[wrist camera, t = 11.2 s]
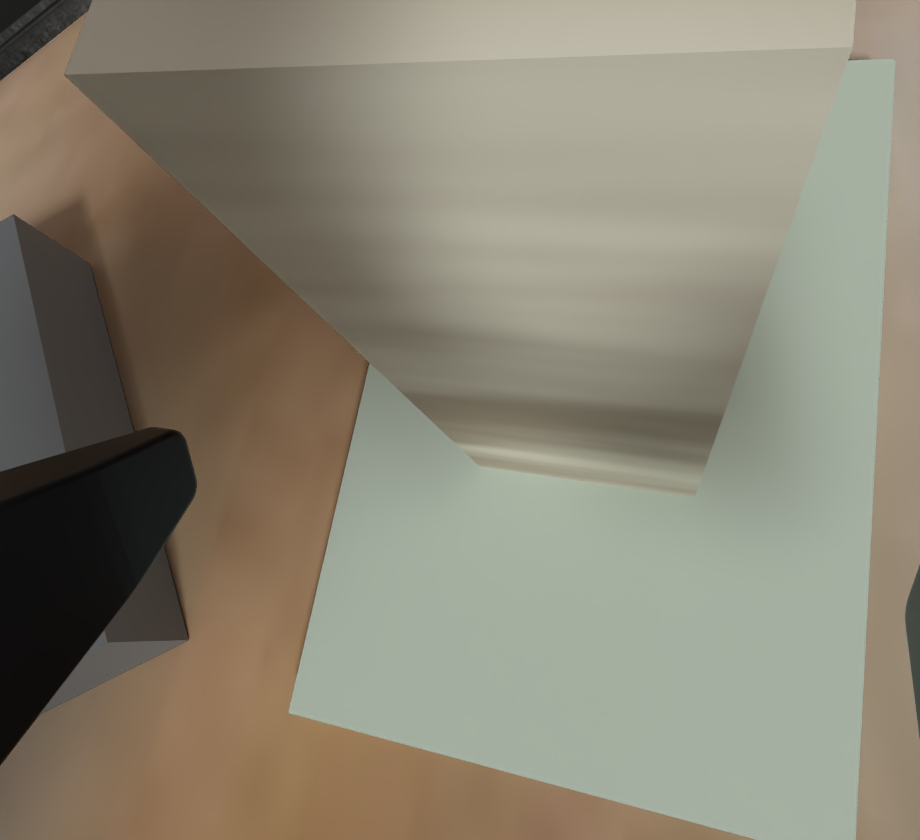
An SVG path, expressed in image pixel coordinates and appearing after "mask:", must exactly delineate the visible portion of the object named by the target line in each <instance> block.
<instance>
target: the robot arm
mask: <svg viewBox="0 0 920 840" xmlns="http://www.w3.org/2000/svg"><path fill="white" fill-rule="evenodd" d="M196 488H197V480H196V476H195V472H194V468H193V465H192V461H191V457H190V454H189V450H188V446H187V442H186V440H185V438H184V436H183V435H182V434H181V433H180V432H178V431H176V430H171V429H164V428H157V427H151V428H146V429H143V430H139V431H136V432H133V433H129V434H126V435H122V436H119V437H116V438H112V439H109V440H105V441H102V442H99V443H95V444H92V445H88V446H85V447H82V448H78V449H75V450H71V451H68V452H65V453H61V454H58V455H54V456H51V457H48V458H44V459H41V460H38V461H34V462H31V463H27V464H24V465H21V466H17V467H14V468H10V469H7V470H4V471H0V765H1V764H2V763H3V762H4V760H5V759H6V758H7V756H8V755H9V754H10V752H11V751H12V750H13V749H14V747H15V746H16V745H17V743H18V742H19V741H20V739H21V738H22V737H23V735H24V734H25V733H26V732H27V730H28V729H29V728H30V726H31V725H32V724H33V722H34V721H35V720H36V719H37V717H38V716H39V715H40V713H41V712H42V711H43V709H44V708H45V707H46V706H47V704H48V703H49V702H50V700H51V699H52V698H53V696H54V695H55V694H56V693H57V691H58V690H59V689H60V687H61V686H62V685H63V683H64V682H65V681H66V680H67V678H68V677H69V676H70V674H71V673H72V672H73V670H74V669H75V668H76V667H77V665H78V664H79V663H80V661H81V660H82V659H83V657H84V656H85V655H86V654H87V652H88V651H89V650H90V648H91V647H92V646H93V644H94V643H95V642H96V641H97V639H98V638H99V637H100V635H101V634H102V633H103V631H104V630H105V629H106V627H107V626H108V625H109V624H110V622H111V621H112V620H113V618H114V617H115V616H116V614H117V613H118V612H119V611H120V609H121V608H122V607H123V605H124V604H125V603H126V601H127V600H128V599H129V597H130V596H131V595H132V593H133V592H134V591H135V589H136V588H137V587H138V585H139V584H140V582H141V581H142V579H143V578H144V576H145V575H146V573H147V572H148V570H149V568H150V567H151V565H152V564H153V562H154V560H155V559H156V557H157V556H158V554H159V552H160V551H161V549H162V548H163V546H164V545H165V543H166V541H167V540H168V538H169V537H170V535H171V533H172V532H173V530H174V529H175V527H176V525H177V524H178V522H179V521H180V519H181V517H182V516H183V514H184V513H185V511H186V510H187V508H188V506H189V505H190V503H191V502H192V500H193V498H194V496H195V493H196ZM905 623H906V632H907V640H908V648H909V656H910V664H911V672H912V680H913V688H914V696H915V704H916V712H917V720H918V728H919V737H920V566H919V569H918V571H917V574H916V577H915V580H914V583H913V585H912V588H911V591H910V594H909V597H908V600H907V604H906V612H905Z"/></svg>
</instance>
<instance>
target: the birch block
mask: <svg viewBox="0 0 920 840" xmlns="http://www.w3.org/2000/svg"><path fill="white" fill-rule="evenodd" d="M855 8H856V0H92V2H91V5H90V8H89V10H88V13H87V16H86V18H85V21H84V24H83V26H82V29H81V31H80V34H79V37H78V39H77V42H76V45H75V47H74V50H73V53H72V55H71V58H70V60H69V63H68V66H67V68H66V71H65V74H64V75H65V76H66V77H67V78H68V79H69V80H70V81H71V82H72V83H73V84H74V85H75V86H76V87H77V88H79V89H80V90H81V91H82V92H83V93H84V94H85V95H86V96H87V97H88V98H89V99H90V100H91V101H92V102H93V103H94V104H96V105H97V106H98V107H99V108H100V109H101V110H102V111H103V112H104V113H105V114H106V115H107V116H108V117H109V118H110V119H111V120H112V121H114V122H115V123H116V124H117V125H118V126H119V127H120V128H121V129H122V130H123V131H124V132H125V133H126V134H127V135H128V136H129V137H131V138H132V139H133V140H134V141H135V142H136V143H137V144H138V145H139V146H140V147H141V148H142V149H143V150H144V151H145V152H146V153H148V154H149V155H150V156H151V157H152V158H153V159H154V160H155V161H156V162H157V163H158V164H159V165H160V166H161V167H162V168H163V169H164V170H166V171H167V172H168V173H169V174H170V175H171V176H172V177H173V178H174V179H175V180H176V181H177V182H178V183H179V184H180V185H181V186H183V187H184V188H185V189H186V190H187V191H188V192H189V193H190V194H191V195H192V196H193V197H194V198H195V199H196V200H197V201H198V202H199V203H201V204H202V205H203V206H204V207H205V208H206V209H207V210H208V211H209V212H210V213H211V214H212V215H213V216H214V217H215V218H216V219H218V220H219V221H220V222H221V223H222V224H223V225H224V226H225V227H226V228H227V229H228V230H229V231H230V232H231V233H232V234H233V235H235V236H236V237H237V238H238V239H239V240H240V241H241V242H242V243H243V244H244V245H245V246H246V247H247V248H248V249H249V250H250V251H251V252H253V253H254V254H255V255H256V256H257V257H258V258H259V259H260V260H261V261H262V262H263V263H264V264H265V265H266V266H267V267H268V268H270V269H271V270H272V271H273V272H274V273H275V274H276V275H277V276H278V277H279V278H280V279H281V280H282V281H283V282H284V283H285V284H286V285H288V286H289V287H290V288H291V289H292V290H293V291H294V292H295V293H296V294H297V295H298V296H299V297H300V298H301V299H302V300H303V301H305V302H306V303H307V304H308V305H309V306H310V307H311V308H312V309H313V310H314V311H315V312H316V313H317V314H318V315H319V316H320V317H322V318H323V319H324V320H325V321H326V322H327V323H328V324H329V325H330V326H331V327H332V328H333V329H334V330H335V331H336V332H337V333H338V334H340V335H341V336H342V337H343V338H344V339H345V340H346V341H347V342H348V343H349V344H350V345H351V346H352V347H353V348H354V349H355V350H357V351H358V352H359V353H360V354H361V355H362V356H363V357H364V358H365V359H366V360H367V361H368V362H369V363H370V364H371V365H372V366H373V367H375V368H376V369H377V370H378V371H379V372H380V373H381V374H382V375H383V376H384V377H385V378H386V379H387V380H388V381H389V382H390V383H392V384H393V385H394V386H395V387H396V388H397V389H398V390H399V391H400V392H401V393H402V394H403V395H404V396H405V397H406V398H407V399H409V400H410V401H411V402H412V403H413V404H414V405H415V406H416V407H417V408H418V409H419V410H420V411H421V412H422V413H423V414H424V415H425V416H427V417H428V418H429V419H430V420H431V421H432V422H433V423H434V424H435V425H436V426H437V427H438V428H439V429H440V430H441V431H442V432H444V433H445V434H446V435H447V436H448V437H449V438H450V439H451V440H452V441H453V442H454V443H455V444H456V445H457V446H458V447H459V448H461V449H462V450H463V451H464V452H465V453H466V454H467V455H468V456H469V457H470V458H471V459H472V460H473V461H474V462H475V463H476V464H477V465H479V466H480V467H487V468H494V469H501V470H508V471H515V472H522V473H529V474H536V475H543V476H550V477H557V478H564V479H571V480H578V481H585V482H592V483H599V484H606V485H613V486H620V487H628V488H635V489H642V490H649V491H656V492H663V493H670V494H677V495H684V496H691V497H695V495H696V493H697V490H698V487H699V484H700V481H701V478H702V475H703V473H704V470H705V467H706V464H707V461H708V458H709V456H710V453H711V450H712V447H713V444H714V441H715V438H716V436H717V433H718V430H719V427H720V424H721V421H722V418H723V416H724V413H725V410H726V407H727V404H728V401H729V398H730V396H731V393H732V390H733V387H734V384H735V381H736V379H737V376H738V373H739V370H740V367H741V364H742V361H743V359H744V356H745V353H746V350H747V347H748V344H749V341H750V339H751V336H752V333H753V330H754V327H755V324H756V321H757V319H758V316H759V313H760V310H761V307H762V304H763V302H764V299H765V296H766V293H767V290H768V287H769V284H770V282H771V279H772V276H773V273H774V270H775V267H776V264H777V262H778V259H779V256H780V253H781V250H782V247H783V244H784V242H785V239H786V236H787V233H788V230H789V227H790V225H791V222H792V219H793V216H794V213H795V210H796V207H797V205H798V202H799V199H800V196H801V193H802V190H803V187H804V185H805V182H806V179H807V176H808V173H809V170H810V167H811V165H812V162H813V159H814V156H815V153H816V150H817V148H818V145H819V142H820V139H821V136H822V133H823V130H824V128H825V125H826V122H827V119H828V116H829V113H830V110H831V108H832V105H833V102H834V99H835V96H836V93H837V91H838V88H839V85H840V82H841V79H842V76H843V73H844V71H845V68H846V65H847V62H848V59H849V56H850V53H851V51H852V48H853V36H854V22H855Z"/></svg>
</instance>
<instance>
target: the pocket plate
mask: <svg viewBox="0 0 920 840" xmlns="http://www.w3.org/2000/svg"><path fill="white" fill-rule="evenodd" d="M133 432H134V430H133V427H132V423H131V419H130V415H129V411H128V408H127V404H126V400H125V396H124V392H123V389H122V385H121V381H120V377H119V373H118V370H117V366H116V362H115V358H114V354H113V351H112V347H111V343H110V339H109V335H108V332H107V328H106V324H105V320H104V316H103V313H102V309H101V305H100V301H99V297H98V294H97V290H96V286H95V282H94V278H93V275H92V271H91V267H90V264H89V263H88V262H86V261H85V260H83V259H82V258H80V257H78V256H77V255H75V254H74V253H72V252H71V251H69V250H68V249H66V248H65V247H63V246H62V245H60V244H58V243H57V242H55V241H54V240H52V239H51V238H49V237H48V236H46V235H45V234H43V233H41V232H40V231H38V230H37V229H35V228H34V227H32V226H31V225H29V224H28V223H26V222H24V221H23V220H21V219H20V218H18V217H17V216H15V215H14V214H13V215H11V216H9V217H8V218H6V219H4V220H3V221H1V222H0V471H4V470H7V469H10V468H14V467H17V466H21V465H24V464H27V463H31V462H34V461H38V460H41V459H44V458H48V457H51V456H54V455H58V454H61V453H65V452H68V451H71V450H75V449H78V448H82V447H85V446H88V445H92V444H95V443H99V442H102V441H105V440H109V439H112V438H116V437H119V436H122V435H126V434H129V433H133ZM188 640H189V639H188V636H187V632H186V628H185V624H184V620H183V617H182V613H181V609H180V605H179V601H178V598H177V594H176V590H175V586H174V582H173V579H172V575H171V571H170V567H169V563H168V560H167V556H166V552H165V548H164V546H163V548H162V549H161V551H160V552H159V554H158V556H157V557H156V559H155V560H154V562H153V564H152V565H151V567H150V568H149V570H148V572H147V573H146V575H145V576H144V578H143V579H142V581H141V582H140V584H139V585H138V587H137V588H136V589H135V591H134V592H133V593H132V595H131V596H130V597H129V599H128V600H127V601H126V603H125V604H124V605H123V607H122V608H121V609H120V611H119V612H118V613H117V614H116V616H115V617H114V618H113V620H112V621H111V622H110V624H109V625H108V626H107V627H106V629H105V630H104V631H103V633H102V634H101V635H100V637H99V638H98V639H97V641H96V642H95V643H94V644H93V646H92V647H91V648H90V650H89V651H88V652H87V654H86V655H85V656H84V657H83V659H82V660H81V661H80V663H79V664H78V665H77V667H76V668H75V669H74V670H73V672H72V673H71V674H70V676H69V677H68V678H67V680H66V681H65V682H64V683H63V685H62V686H61V687H60V689H59V690H58V691H57V693H56V694H55V695H54V696H53V698H52V699H51V700H50V702H49V703H48V704H47V706H46V707H45V708H44V709H43V711H42V712H41V713H43V712H45V711H47V710H49V709H51V708H53V707H55V706H57V705H59V704H61V703H63V702H65V701H67V700H69V699H71V698H73V697H75V696H77V695H79V694H81V693H83V692H85V691H87V690H89V689H91V688H93V687H95V686H97V685H99V684H101V683H103V682H105V681H107V680H109V679H111V678H113V677H115V676H117V675H119V674H121V673H123V672H125V671H127V670H129V669H132V668H134V667H136V666H138V665H140V664H142V663H144V662H146V661H148V660H150V659H152V658H154V657H156V656H158V655H160V654H162V653H164V652H166V651H168V650H170V649H172V648H174V647H176V646H178V645H180V644H182V643H184V642H186V641H188ZM41 713H40V714H41Z"/></svg>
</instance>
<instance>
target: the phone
mask: <svg viewBox="0 0 920 840" xmlns="http://www.w3.org/2000/svg"><path fill="white" fill-rule="evenodd" d="M91 2H92V0H0V80H1V79H3V78H4V77H5V76H7V75H8V74H9V73H10V72H12V71H13V70H14V69H15V68H17V67H18V66H19V65H20V64H22V63H23V62H24V61H25V60H27V59H28V58H29V57H30V56H32V55H33V54H34V53H35V52H37V51H38V50H39V49H40V48H42V47H43V46H44V45H45V44H47V43H48V42H49V41H51V40H52V39H53V38H54V37H56V36H57V35H58V34H59V33H61V32H62V31H63V30H64V29H66V28H67V27H68V26H69V25H71V24H72V23H73V22H74V21H76V20H77V19H78V18H79V17H81V16H82V15H83V14H84V13H86V12H87V11H88V10H89V8H90V5H91Z"/></svg>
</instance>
